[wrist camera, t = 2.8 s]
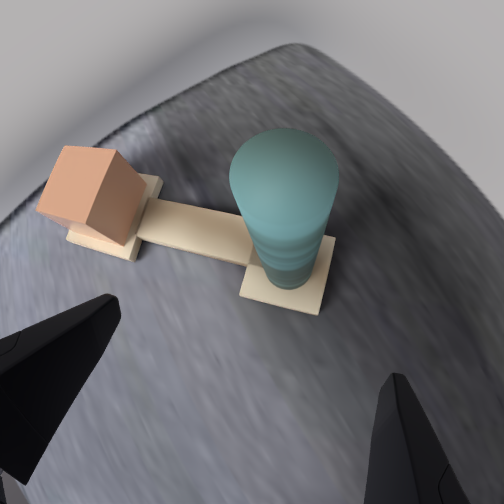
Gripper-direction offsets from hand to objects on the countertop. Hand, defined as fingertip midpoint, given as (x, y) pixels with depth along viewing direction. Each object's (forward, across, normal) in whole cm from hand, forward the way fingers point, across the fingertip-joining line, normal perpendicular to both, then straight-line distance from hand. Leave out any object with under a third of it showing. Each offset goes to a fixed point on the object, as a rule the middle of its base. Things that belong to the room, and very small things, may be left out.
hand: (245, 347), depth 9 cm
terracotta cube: (+11, +14, +3) cm, 18 cm away
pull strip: (+12, +7, +4) cm, 15 cm away
